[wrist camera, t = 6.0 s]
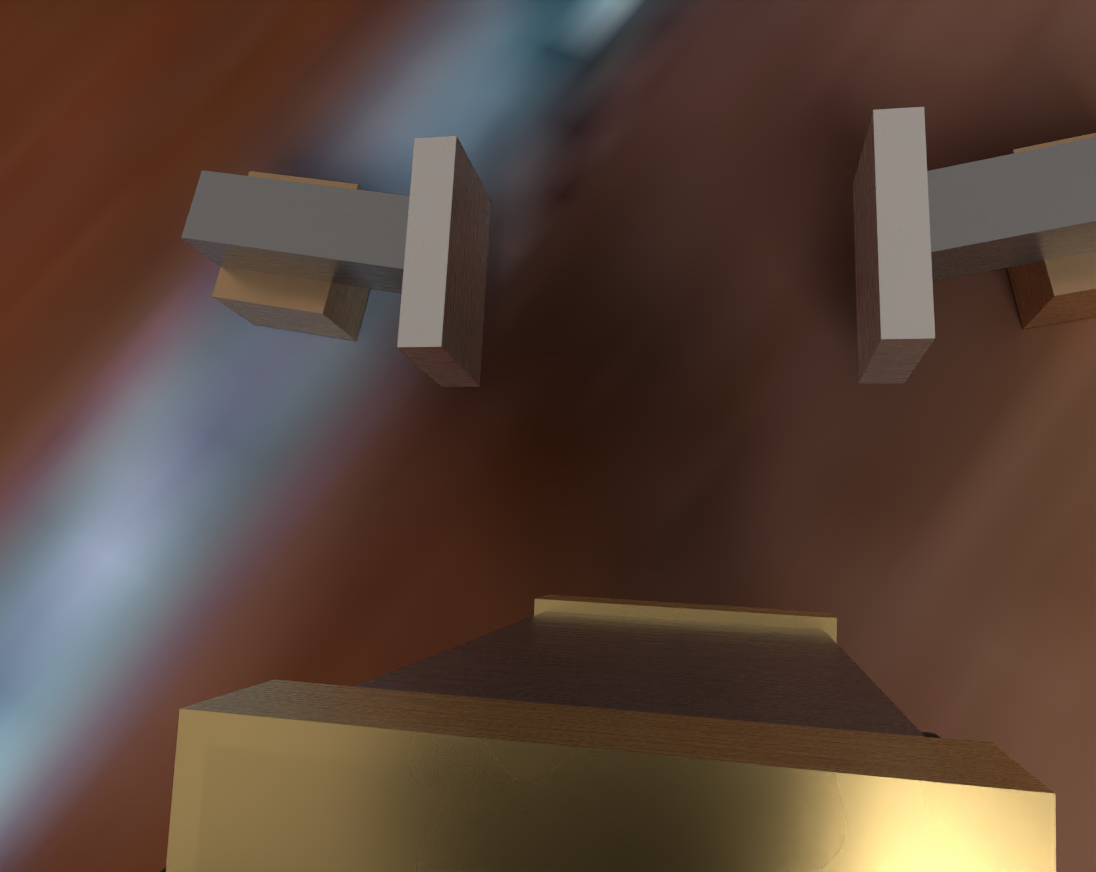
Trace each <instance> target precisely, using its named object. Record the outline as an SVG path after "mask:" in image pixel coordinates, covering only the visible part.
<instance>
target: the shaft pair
mask: <svg viewBox="0 0 1096 872" xmlns="http://www.w3.org/2000/svg"><path fill="white" fill-rule="evenodd" d="M853 207H854V241H855V276H856V311H857V345H858V380H859V383H905V382H906V380H907V379H908V377H909V376H910V374H911V373H912V372H913V370H914V369H915V367H916V366H917V364H918V363H919V361H920V360H921V358H922V357H923V355H924V354H925V353H926V351H927V350H928V348H929V347H930V345H931V344H932V342H933V341H934V339H935V323H934V302H933V282H932V281H938V280H943V279H948V278H954V277H959V276H965V275H970V274H975V273H981V272H986V271H992V270H997V269H1002V268H1007V271H1008V275H1009V278H1010V282H1011V286H1012V290H1013V293H1014V297H1015V301H1016V304H1017V308H1018V312H1019V315H1020V319H1021V323H1022V326H1023V329H1026V328H1032V327H1038V326H1043V325H1049V324H1055V323H1060V322H1066V321H1072V320H1078V319H1083V318H1089V317H1095V316H1096V133H1092V134H1087V135H1082V136H1078V137H1073V138H1068V139H1063V140H1058V141H1053V142H1048V143H1043V144H1038V145H1033V146H1028V147H1024V148H1019V149H1014V150H1013V151H1012V153H1011V154H1009V155H1004V156H999V157H994V158H989V159H984V160H979V161H974V162H969V163H964V164H959V165H955V166H950V167H945V168H940V169H935V170H930V171H927V156H926V135H925V114H924V107H911V108H895V109H879V110H873V112H872V116H871V120H870V123H869V127H868V130H867V134H866V138H865V141H864V145H863V149H862V152H861V156H860V160H859V163H858V167H857V170H856V174H855V178H854V181H853ZM490 211H491V200H490V198H489V196H488V194H487V192H486V190H485V189H484V187H483V185H482V183H481V181H480V179H479V177H478V175H477V173H476V172H475V170H474V168H473V166H472V164H471V162H470V160H469V158H468V156H467V155H466V153H465V151H464V149H463V147H462V145H461V143H460V141H459V140H458V138H457V136H444V137H428V138H414V149H413V161H412V174H411V186H410V196H407V195H399V194H391V193H383V192H374V191H366V190H362V188H361V187H360V186H359V185H358V184H353V183H344V182H336V181H328V180H320V179H311V178H303V177H295V176H286V175H278V174H270V173H262V172H253V171H249V174H248V176H244V175H236V174H227V173H219V172H211V171H203V170H202V172H201V175H200V178H199V182H198V185H197V188H196V191H195V195H194V198H193V201H192V204H191V208H190V211H189V214H188V217H187V221H186V224H185V227H184V230H183V234H182V237H181V238H183V239H184V240H185V241H187V242H188V243H189V244H191V245H192V246H193V247H195V248H196V249H197V250H199V251H200V252H202V253H203V254H204V255H206V256H207V257H208V258H210V259H211V260H212V261H214V262H215V263H216V264H218V265H219V266H221V268H220V271H219V274H218V278H217V281H216V284H215V288H214V291H213V295H212V297H214V298H215V299H217V300H218V301H220V302H221V303H223V304H224V305H226V306H227V307H228V308H230V309H231V310H233V311H234V312H236V313H237V314H239V315H240V316H242V317H243V318H245V319H246V320H248V321H249V322H251V323H252V324H254V325H260V326H266V327H272V328H279V329H285V330H291V331H297V332H303V333H309V334H315V335H321V336H328V337H334V338H340V339H346V340H352V341H356V340H357V336H358V332H359V328H360V325H361V321H362V317H363V313H364V310H365V306H366V302H367V298H368V295H369V291H370V289H375V290H382V291H389V292H395V293H402V295H401V307H400V319H399V331H398V344H397V348H399V349H400V350H401V351H402V352H403V353H404V354H405V355H406V356H407V357H409V358H410V359H411V360H412V361H413V362H414V363H415V364H416V365H417V366H418V367H420V368H421V369H422V370H423V371H424V372H425V373H426V374H427V375H428V376H430V377H431V378H432V379H433V380H434V381H435V382H436V383H437V384H438V385H440V386H441V387H480V372H481V356H482V340H483V324H484V308H485V292H486V275H487V259H488V243H489V227H490Z"/></svg>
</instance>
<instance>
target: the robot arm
mask: <svg viewBox="0 0 1096 872" xmlns="http://www.w3.org/2000/svg"><path fill="white" fill-rule="evenodd" d="M921 733H922V734H923V735H924V736H925V737H933V738H941V737H939V736H938V735H936V734H934V733H930V732H921ZM160 872H166V867H165V868H164V869H163V870H161V871H160Z"/></svg>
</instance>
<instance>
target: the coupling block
mask: <svg viewBox="0 0 1096 872" xmlns="http://www.w3.org/2000/svg"><path fill="white" fill-rule="evenodd" d="M836 640H837V618H836V617H835V616H833V615H832V614H831V613H830V612H817V611H801V610H786V609H770V608H754V607H738V606H722V605H707V604H691V603H675V602H659V601H643V600H628V599H612V598H596V597H580V596H564V595H549V594H548V595H545V596H542V597H539V598H536V599H535V603H534V616H532V617H530V618H527V619H525V620H522V621H519V622H517V623H514V624H512V625H509V626H507V627H504V628H502V629H499V630H497V631H494V632H492V633H489V634H486V635H484V636H481V637H479V638H476V639H474V640H471V641H469V642H466V643H464V644H461V645H458V646H456V647H453V648H451V649H448V650H446V651H443V652H441V653H438V654H436V655H433V656H431V657H428V658H425V659H423V660H420V661H418V662H415V663H413V664H410V665H408V666H405V667H403V668H400V669H397V670H395V671H392V672H390V673H387V674H385V675H382V676H380V677H377V678H375V679H372V680H369V681H367V682H364V683H362V684H359V685H357V686H354V687H353V686H341V685H330V684H319V683H307V682H296V681H285V680H271V681H268V682H264V683H261V684H258V685H255V686H252V687H248V688H245V689H242V690H239V691H235V692H232V693H229V694H226V695H222V696H219V697H216V698H213V699H210V700H206V701H203V702H200V703H197V704H193V705H190V706H187V707H184V708H181V709H180V711H179V722H178V734H177V746H176V757H175V769H174V781H173V792H172V804H171V816H170V827H169V839H168V851H167V863H166V872H1056V808H1055V793H1054V792H1053V791H1051V790H1050V789H1049V788H1048V787H1046V786H1045V785H1044V784H1043V783H1041V782H1040V781H1039V780H1038V779H1036V778H1035V777H1034V776H1033V775H1031V774H1030V773H1029V772H1028V771H1026V770H1025V769H1024V768H1023V767H1021V766H1020V765H1019V764H1018V763H1017V762H1015V761H1014V760H1013V759H1012V758H1010V757H1009V756H1008V755H1007V754H1005V753H1004V752H1003V751H1002V750H1000V749H999V748H998V747H997V746H995V745H994V744H993V743H990V742H979V741H968V740H956V739H945V738H933V737H925V736H924V735H923V734H922V733H921V732H920V731H919V730H918V729H917V728H916V727H915V726H914V725H913V723H912V722H911V721H910V720H909V719H908V718H907V717H906V716H905V715H904V714H903V713H902V712H901V711H900V710H899V709H898V708H897V707H896V706H895V705H894V703H893V702H892V701H891V700H890V699H889V698H888V697H887V696H886V695H885V694H884V693H883V692H882V691H881V690H880V689H879V688H878V687H877V686H876V684H875V683H874V682H873V681H872V680H871V679H870V678H869V677H868V676H867V675H866V674H865V673H864V672H863V671H862V670H861V669H860V668H859V667H858V666H857V664H856V663H855V662H854V661H853V660H852V659H851V658H850V657H849V656H848V655H847V654H846V653H845V652H844V651H843V650H842V649H841V648H840V647H839V645H838V644H837V643H836Z"/></svg>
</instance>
